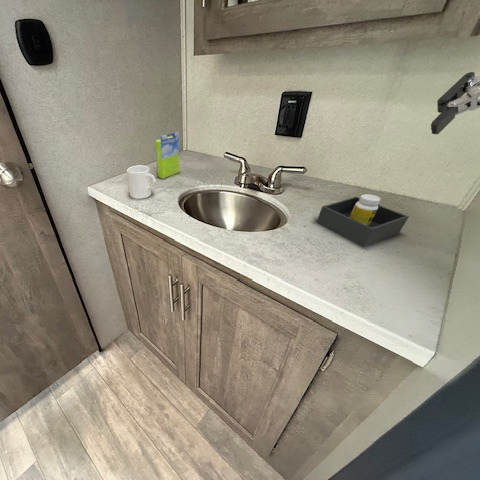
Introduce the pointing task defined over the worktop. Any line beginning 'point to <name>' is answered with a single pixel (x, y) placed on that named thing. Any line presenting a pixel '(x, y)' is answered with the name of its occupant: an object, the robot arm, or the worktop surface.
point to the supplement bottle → (365, 209)
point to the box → (167, 155)
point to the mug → (140, 181)
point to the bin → (364, 235)
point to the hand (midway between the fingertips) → (467, 135)
